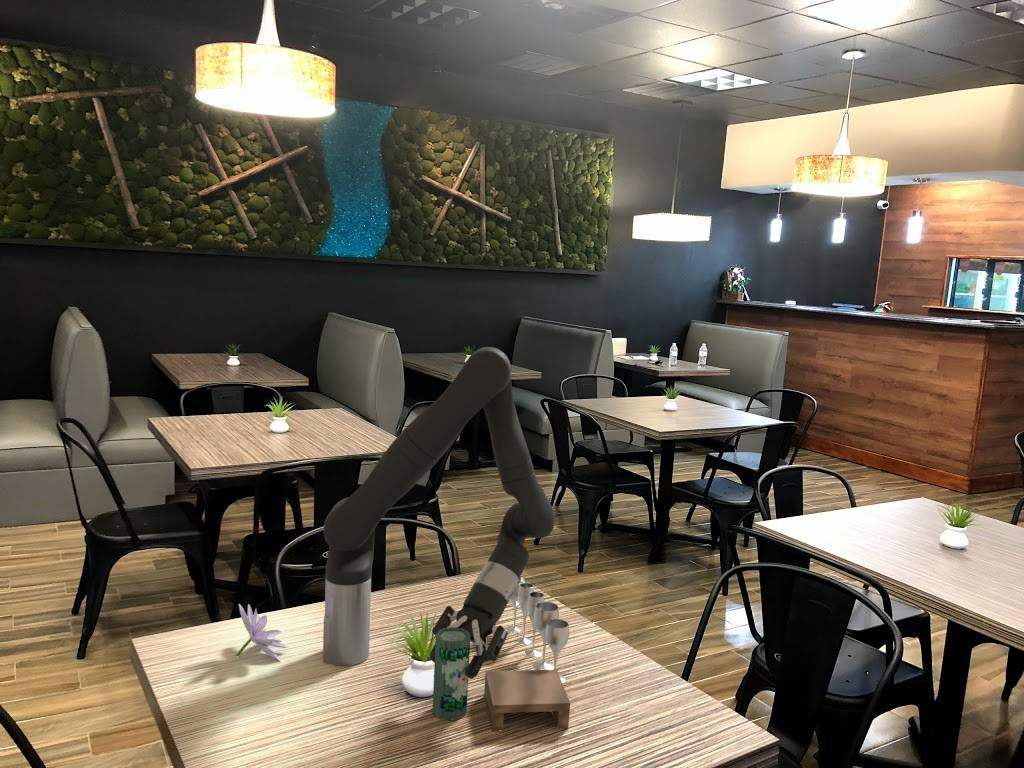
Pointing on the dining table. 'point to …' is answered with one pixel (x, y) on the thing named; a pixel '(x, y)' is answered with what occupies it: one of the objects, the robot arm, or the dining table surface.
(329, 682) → the dining table surface
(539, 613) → the goblet set
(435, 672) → the can
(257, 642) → the water lily
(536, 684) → the walnut shelf
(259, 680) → the dining table surface
